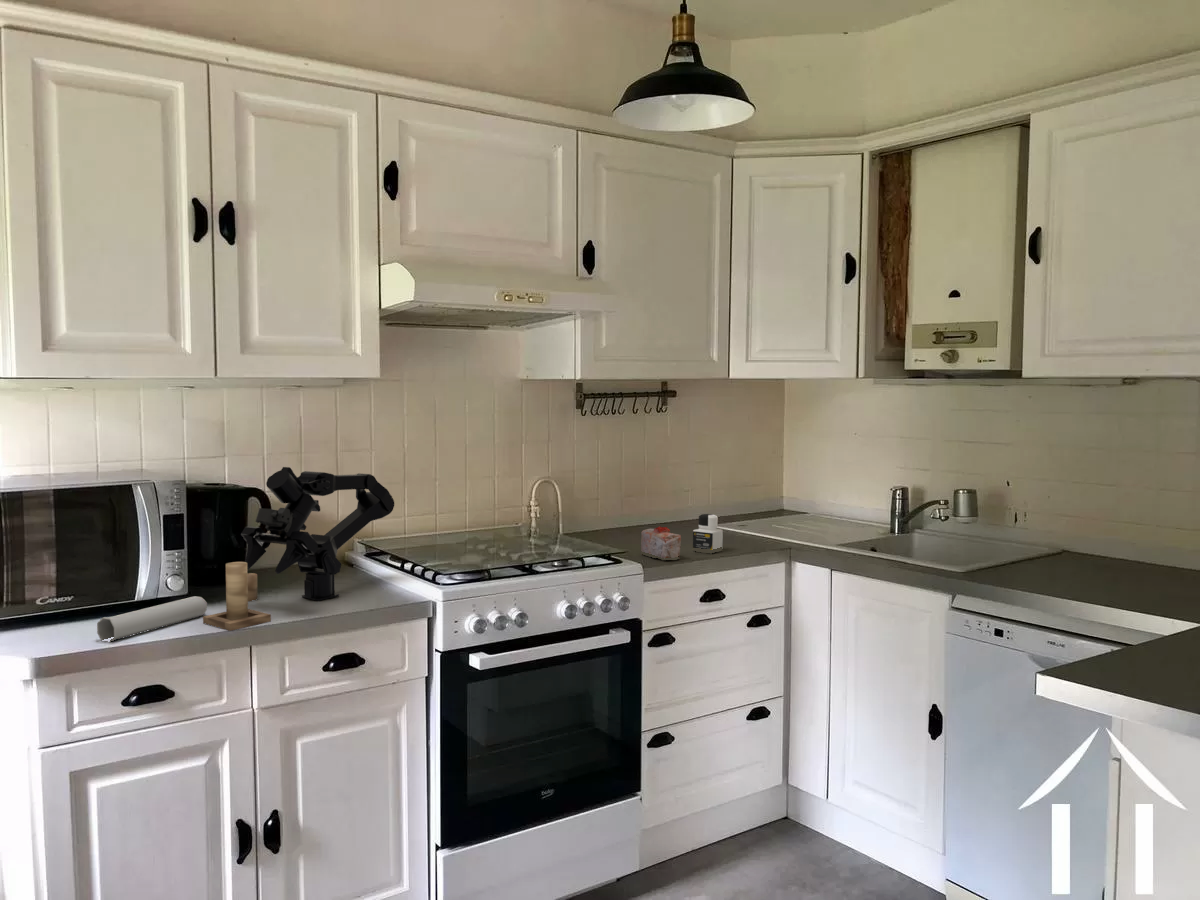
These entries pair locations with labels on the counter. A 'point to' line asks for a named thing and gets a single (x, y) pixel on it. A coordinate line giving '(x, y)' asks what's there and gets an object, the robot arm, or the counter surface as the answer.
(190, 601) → the tube
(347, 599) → the counter surface
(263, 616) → the hole plate
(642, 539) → the food item
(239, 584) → the oak dowel
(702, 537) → the medicine bottle
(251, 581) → the walnut stub
